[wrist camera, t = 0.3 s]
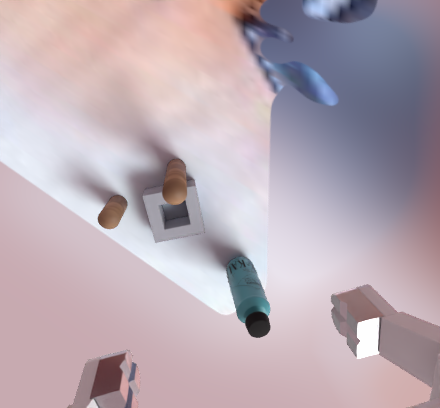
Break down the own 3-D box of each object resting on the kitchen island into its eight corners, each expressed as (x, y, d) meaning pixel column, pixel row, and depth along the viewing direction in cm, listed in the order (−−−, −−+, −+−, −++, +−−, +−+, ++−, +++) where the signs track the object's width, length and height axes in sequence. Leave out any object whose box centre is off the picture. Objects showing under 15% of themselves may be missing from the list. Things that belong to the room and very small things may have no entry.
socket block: (145, 188, 57) (142, 196, 53) (194, 179, 57) (195, 185, 53) (157, 232, 60) (155, 242, 56) (203, 223, 61) (204, 232, 57)
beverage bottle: (250, 276, 67) (277, 344, 49) (223, 276, 66) (239, 346, 48) (253, 251, 65) (282, 313, 46) (224, 252, 64) (242, 315, 46)
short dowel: (106, 197, 56) (95, 212, 49) (124, 193, 57) (115, 208, 49) (111, 213, 58) (101, 230, 50) (129, 210, 58) (121, 226, 50)
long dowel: (165, 160, 55) (159, 183, 40) (183, 157, 55) (184, 179, 41) (169, 178, 57) (165, 206, 42) (187, 174, 57) (189, 202, 42)
